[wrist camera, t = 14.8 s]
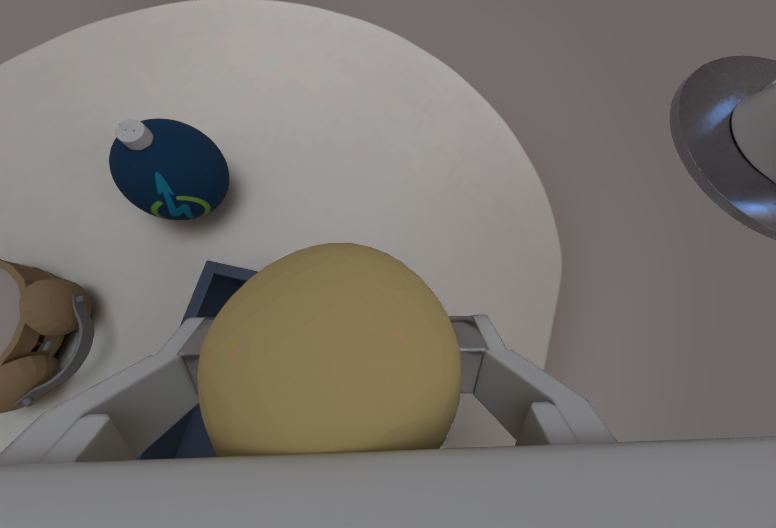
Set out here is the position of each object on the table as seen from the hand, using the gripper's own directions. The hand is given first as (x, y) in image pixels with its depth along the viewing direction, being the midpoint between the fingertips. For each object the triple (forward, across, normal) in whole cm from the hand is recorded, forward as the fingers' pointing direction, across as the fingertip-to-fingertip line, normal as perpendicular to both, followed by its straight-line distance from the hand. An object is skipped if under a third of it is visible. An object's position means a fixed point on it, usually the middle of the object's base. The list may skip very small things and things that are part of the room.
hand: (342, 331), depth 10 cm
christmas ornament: (+23, +16, +2) cm, 28 cm away
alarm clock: (+14, +28, +12) cm, 34 cm away
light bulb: (+3, 0, +5) cm, 6 cm away
